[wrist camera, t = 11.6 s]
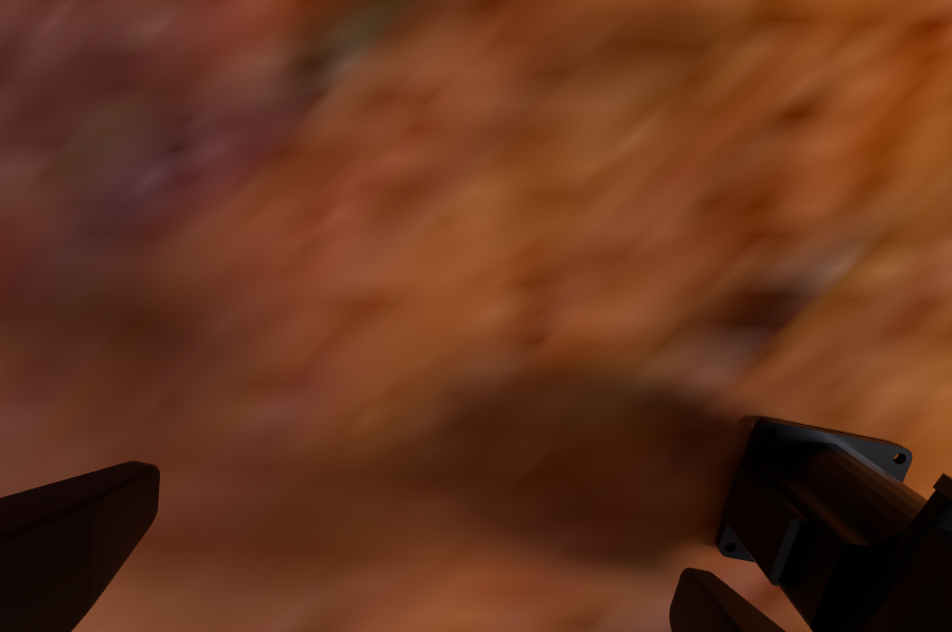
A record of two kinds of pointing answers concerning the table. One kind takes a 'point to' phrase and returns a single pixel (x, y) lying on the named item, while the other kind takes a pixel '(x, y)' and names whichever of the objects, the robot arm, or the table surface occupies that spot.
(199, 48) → the table surface
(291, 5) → the table surface
